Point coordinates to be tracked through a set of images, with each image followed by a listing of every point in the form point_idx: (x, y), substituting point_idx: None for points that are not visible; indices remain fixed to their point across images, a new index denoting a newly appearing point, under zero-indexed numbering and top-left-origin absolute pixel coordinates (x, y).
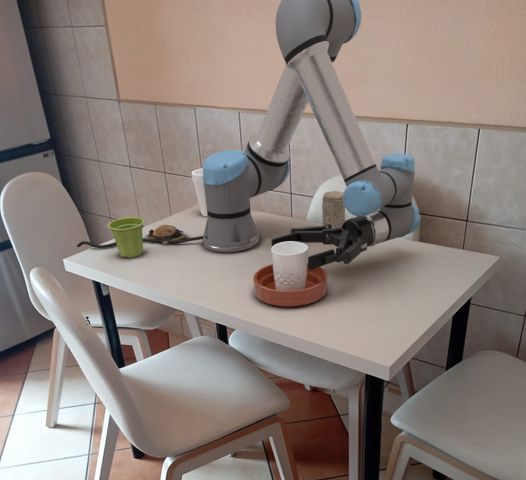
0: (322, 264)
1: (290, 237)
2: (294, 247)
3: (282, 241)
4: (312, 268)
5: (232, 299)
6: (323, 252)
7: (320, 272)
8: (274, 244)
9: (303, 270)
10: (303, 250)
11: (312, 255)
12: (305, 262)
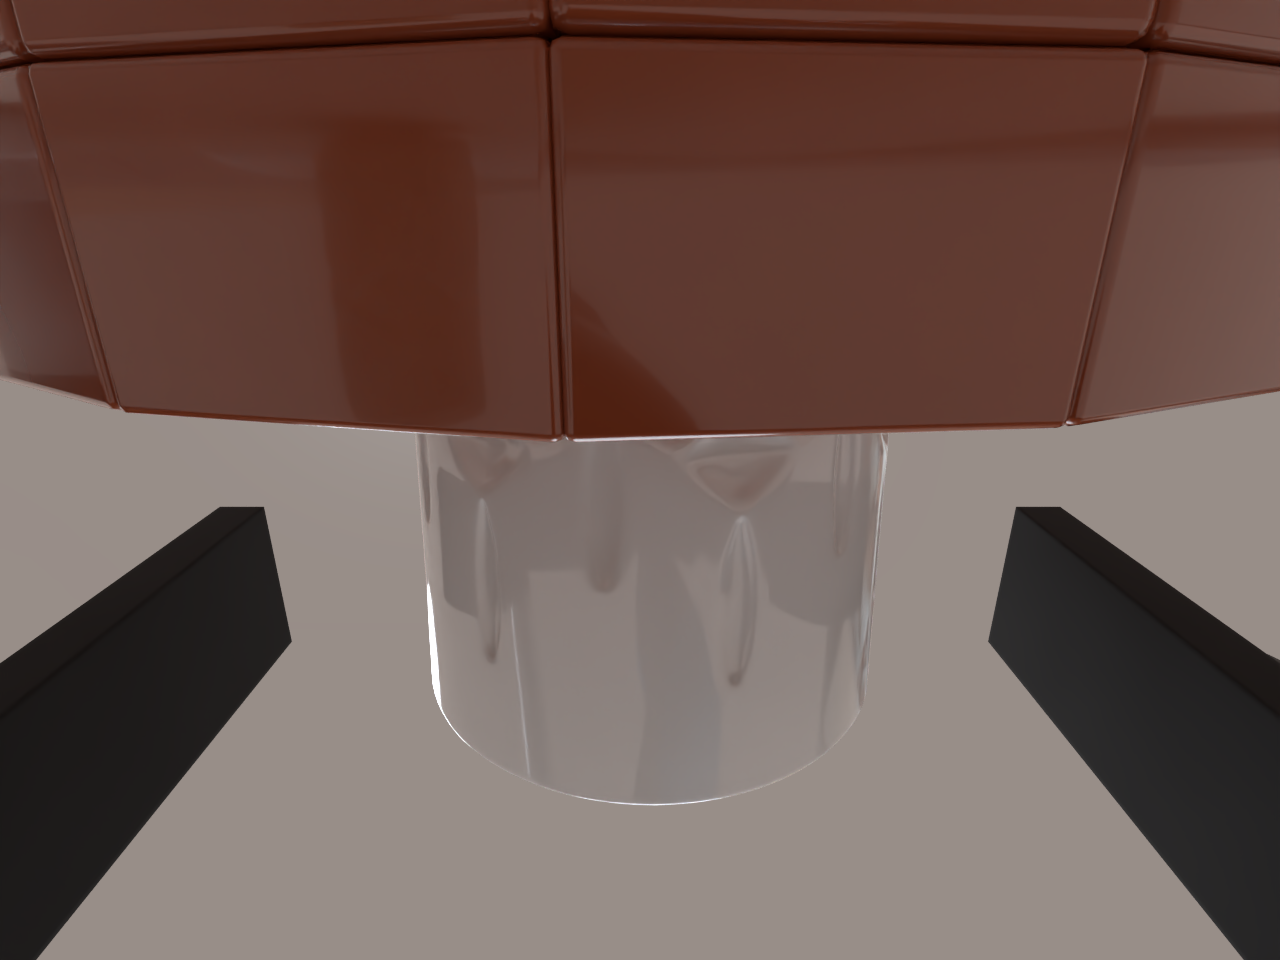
0: (1193, 628)
1: (96, 830)
2: (500, 680)
3: (199, 684)
4: (1078, 529)
5: None
6: (1143, 809)
7: (922, 257)
8: (270, 597)
9: (886, 438)
10: (671, 701)
11: (1024, 680)
12: (876, 552)
